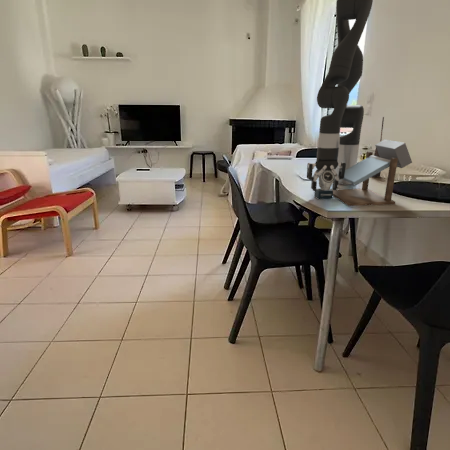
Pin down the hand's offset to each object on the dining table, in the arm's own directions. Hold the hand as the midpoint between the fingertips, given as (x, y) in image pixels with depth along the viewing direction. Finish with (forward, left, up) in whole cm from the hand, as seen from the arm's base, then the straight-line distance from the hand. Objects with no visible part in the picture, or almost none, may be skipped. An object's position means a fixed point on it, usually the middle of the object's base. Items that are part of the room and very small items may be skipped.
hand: (324, 190), depth 125 cm
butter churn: (-36, +40, -3) cm, 54 cm away
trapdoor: (+2, +18, +6) cm, 19 cm away
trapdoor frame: (+2, +13, -3) cm, 13 cm away
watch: (0, 0, -3) cm, 3 cm away
